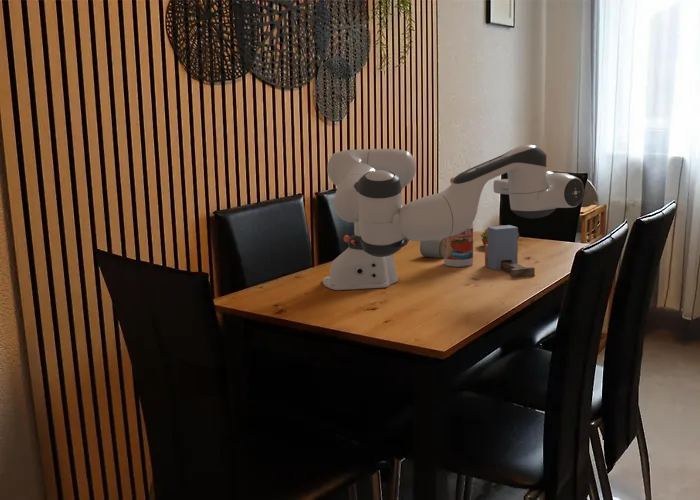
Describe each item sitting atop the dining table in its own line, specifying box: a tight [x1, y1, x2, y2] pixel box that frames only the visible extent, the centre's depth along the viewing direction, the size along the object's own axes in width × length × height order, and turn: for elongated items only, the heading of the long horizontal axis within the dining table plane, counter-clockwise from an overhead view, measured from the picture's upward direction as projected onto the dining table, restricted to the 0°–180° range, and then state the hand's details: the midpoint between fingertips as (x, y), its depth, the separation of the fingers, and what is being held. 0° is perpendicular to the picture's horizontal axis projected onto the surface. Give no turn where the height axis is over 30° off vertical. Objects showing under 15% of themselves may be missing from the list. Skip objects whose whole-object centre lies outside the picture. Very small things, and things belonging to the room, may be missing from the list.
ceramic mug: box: [419, 238, 444, 259], centre depth 241 cm, size 11×8×8 cm
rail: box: [484, 244, 536, 279], centre depth 216 cm, size 7×18×7 cm, turn 16°
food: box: [480, 224, 520, 248], centre depth 252 cm, size 14×14×8 cm
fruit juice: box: [443, 177, 474, 268], centre depth 225 cm, size 9×9×28 cm
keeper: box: [487, 224, 519, 271], centre depth 219 cm, size 8×5×13 cm, turn 106°
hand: (515, 182), depth 204 cm, fingers closed
